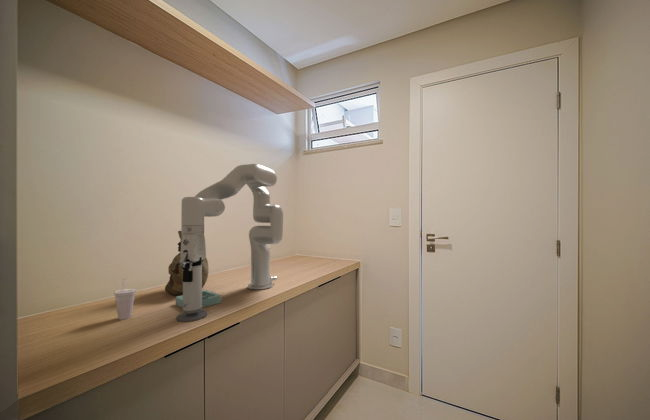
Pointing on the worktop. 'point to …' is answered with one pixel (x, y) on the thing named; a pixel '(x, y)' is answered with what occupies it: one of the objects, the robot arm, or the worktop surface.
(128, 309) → the smoothie
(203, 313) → the pad
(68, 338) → the worktop surface
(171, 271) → the ceramic vessel
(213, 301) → the dock collar
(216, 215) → the robot arm
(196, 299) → the travel mug
